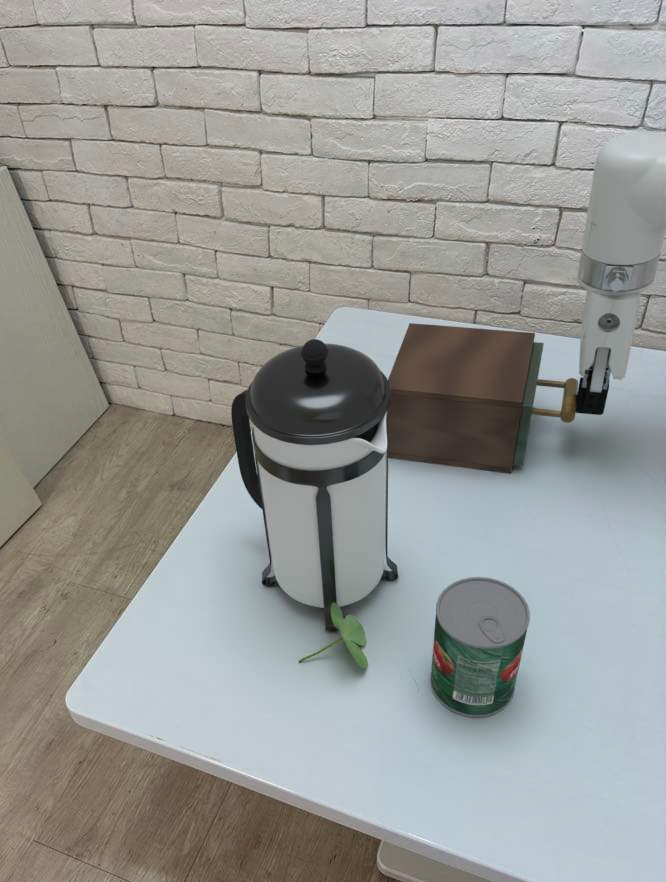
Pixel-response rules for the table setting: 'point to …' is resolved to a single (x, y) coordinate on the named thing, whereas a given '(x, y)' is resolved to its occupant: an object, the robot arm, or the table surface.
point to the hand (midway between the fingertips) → (589, 409)
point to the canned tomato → (478, 645)
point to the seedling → (347, 635)
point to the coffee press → (319, 471)
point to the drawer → (527, 408)
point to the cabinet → (458, 396)
